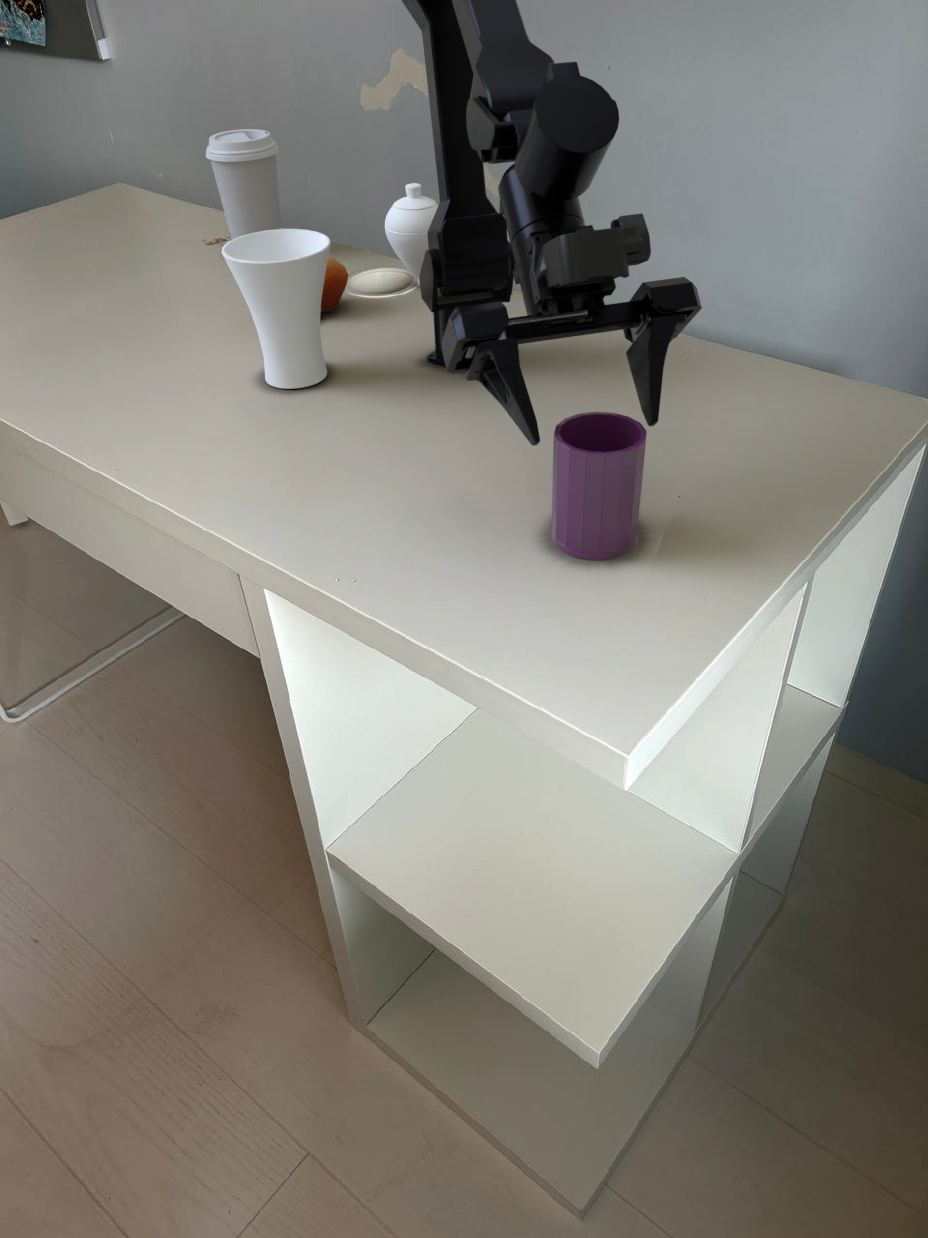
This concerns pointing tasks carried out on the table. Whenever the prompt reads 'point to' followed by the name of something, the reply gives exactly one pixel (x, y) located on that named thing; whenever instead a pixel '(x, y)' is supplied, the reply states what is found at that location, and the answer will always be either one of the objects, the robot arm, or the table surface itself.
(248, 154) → the coffee cup
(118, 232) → the table surface
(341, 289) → the fruit
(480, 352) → the robot arm
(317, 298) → the cup
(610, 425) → the tumbler
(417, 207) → the spinning top
